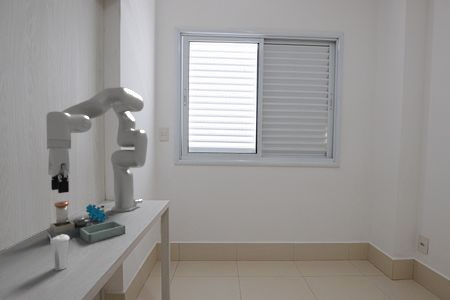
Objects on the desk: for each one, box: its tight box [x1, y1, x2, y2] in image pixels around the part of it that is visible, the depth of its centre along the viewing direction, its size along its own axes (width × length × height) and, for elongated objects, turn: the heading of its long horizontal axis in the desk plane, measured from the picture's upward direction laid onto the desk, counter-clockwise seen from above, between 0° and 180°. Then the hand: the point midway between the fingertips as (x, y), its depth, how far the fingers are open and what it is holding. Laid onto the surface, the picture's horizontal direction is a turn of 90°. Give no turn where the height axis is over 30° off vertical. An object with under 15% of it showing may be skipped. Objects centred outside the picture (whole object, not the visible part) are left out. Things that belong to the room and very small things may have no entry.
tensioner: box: [46, 217, 96, 241], centre depth 95 cm, size 14×8×6 cm, turn 137°
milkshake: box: [48, 233, 71, 271], centre depth 70 cm, size 4×5×10 cm
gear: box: [85, 204, 107, 223], centre depth 112 cm, size 11×6×10 cm
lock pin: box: [54, 200, 70, 227], centre depth 93 cm, size 4×4×10 cm
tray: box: [79, 219, 126, 244], centre depth 94 cm, size 13×10×3 cm
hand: (59, 191), depth 92 cm, fingers open, 9 cm apart
